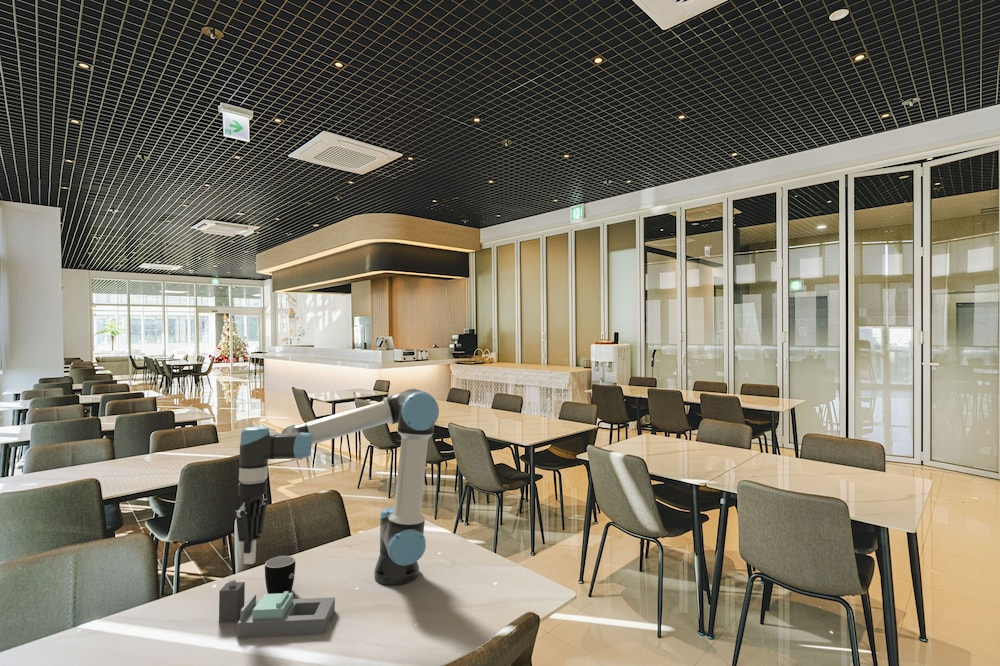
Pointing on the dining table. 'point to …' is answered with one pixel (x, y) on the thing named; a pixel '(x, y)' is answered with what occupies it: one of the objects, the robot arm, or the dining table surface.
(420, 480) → the robot arm
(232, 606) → the plug
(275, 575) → the mug
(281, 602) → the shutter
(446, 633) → the dining table surface
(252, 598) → the socket
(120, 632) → the dining table surface
